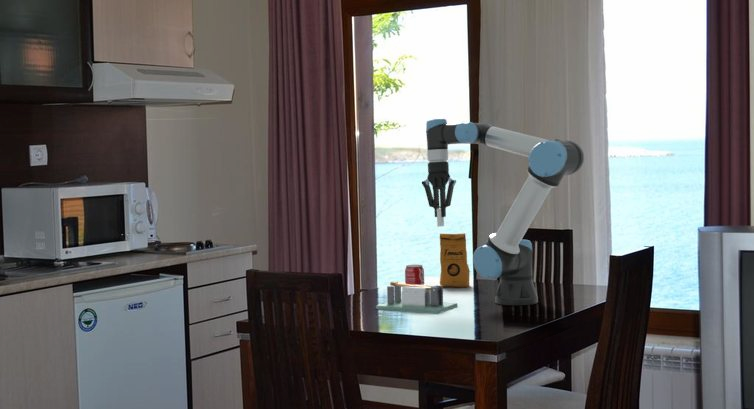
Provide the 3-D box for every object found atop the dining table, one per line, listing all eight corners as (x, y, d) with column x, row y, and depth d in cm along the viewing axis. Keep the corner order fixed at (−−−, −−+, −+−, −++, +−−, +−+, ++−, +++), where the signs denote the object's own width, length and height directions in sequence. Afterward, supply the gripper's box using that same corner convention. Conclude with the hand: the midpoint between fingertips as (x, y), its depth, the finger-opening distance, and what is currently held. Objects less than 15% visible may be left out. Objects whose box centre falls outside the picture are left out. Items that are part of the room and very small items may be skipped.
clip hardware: (444, 308, 326) (443, 285, 326) (436, 310, 321) (435, 287, 320) (396, 304, 336) (396, 282, 336) (387, 307, 330) (387, 285, 330)
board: (457, 306, 329) (457, 303, 329) (437, 313, 315) (437, 309, 315) (397, 302, 341) (397, 299, 341) (376, 309, 327) (376, 305, 327)
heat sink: (436, 303, 329) (436, 285, 329) (424, 307, 322) (424, 288, 321) (413, 302, 334) (413, 284, 334) (402, 305, 326) (401, 287, 326)
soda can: (423, 301, 342) (422, 266, 342) (404, 301, 344) (403, 266, 343) (426, 298, 349) (425, 264, 349) (407, 298, 351) (406, 264, 350)
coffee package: (468, 288, 375) (467, 234, 374) (437, 288, 378) (436, 234, 377) (471, 285, 385) (470, 232, 384) (441, 284, 388) (440, 232, 387)
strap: (436, 289, 325) (436, 286, 325) (433, 290, 323) (433, 287, 323) (393, 284, 334) (393, 281, 334) (390, 285, 332) (390, 282, 332)
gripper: (458, 160, 338) (461, 225, 339) (425, 162, 344) (428, 225, 345) (450, 160, 332) (453, 226, 332) (417, 162, 337) (420, 227, 338)
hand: (440, 226), depth 339 cm, fingers closed
